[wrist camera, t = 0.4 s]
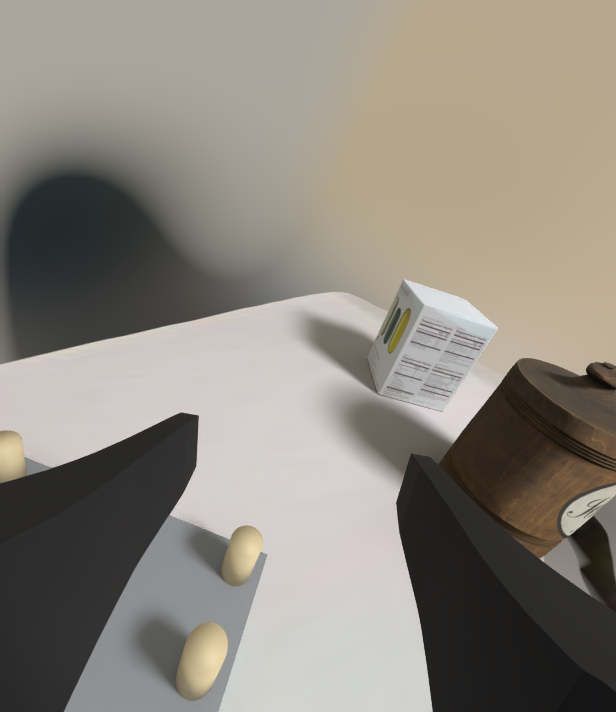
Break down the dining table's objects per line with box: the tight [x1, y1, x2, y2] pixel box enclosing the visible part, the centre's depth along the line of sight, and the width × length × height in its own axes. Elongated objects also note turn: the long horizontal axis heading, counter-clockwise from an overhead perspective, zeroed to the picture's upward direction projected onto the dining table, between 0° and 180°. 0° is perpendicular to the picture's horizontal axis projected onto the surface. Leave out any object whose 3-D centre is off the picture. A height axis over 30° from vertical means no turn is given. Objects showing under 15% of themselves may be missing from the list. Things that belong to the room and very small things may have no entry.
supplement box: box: [367, 279, 498, 412], centre depth 60 cm, size 13×13×18 cm
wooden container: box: [439, 358, 616, 558], centre depth 38 cm, size 15×15×22 cm
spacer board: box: [0, 431, 267, 712], centre depth 19 cm, size 20×24×5 cm
